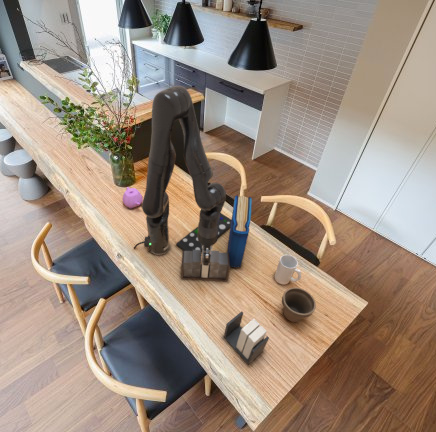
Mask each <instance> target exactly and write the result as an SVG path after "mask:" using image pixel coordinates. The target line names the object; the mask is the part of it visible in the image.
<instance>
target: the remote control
mask: <svg viewBox="0 0 436 432" xmlns="http://www.w3.org/2000/svg"><path fill="white" fill-rule="evenodd" d="M231 219H232V218H229V217H228V216H226V215H224V214H223V213H221V212H220V215H219V230H218V238H217V240H218V239H219V238H220V237H221V236H222V235H225V233H226V232H228V230H230V226H231ZM175 245H176V247H177V248H179V249H180V250H181V251H193V250H201V253H202V244H201V243H200V242H199V241H198V226H197V227H195V228H194V229H193V230H192V231H190V232H189V233H188V234H186V235H185V236H183V238H181V239H180V240H179V241H177V242H176V243H175Z"/></svg>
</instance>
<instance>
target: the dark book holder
mask: <svg viewBox="0 0 436 432" xmlns="http://www.w3.org/2000/svg"><path fill="white" fill-rule="evenodd" d="M243 315H244V312H243V311H242V310H241V311H240V312H239V313H237V315H235V316H234V317H233V318H231V320H229V321H228V322H227V323H226V325H225V328H224V334H223V339H224V340H225V341H226V342H227V343H228V345H230V347H232V348H233V350H234V351H235V352H236V353H237V354H238V355H239V356H240V357H241V358H242V360H243V361H244V362H245V363H246V364H247V365H248V366H249V365H250V364H252V362H253V361H254V360H255V359H256V358H257V357H259V355H261V354H262V353H263V352H264V350H265V347H266V346H267V343H268V342H269V340H270V337H269V336H266V334H267V332H268V330H267V329H265V328H264V326H263V325H261V324H260V323H259V322H258V321H257V320H256V319H255V318H252V319H250V321H249V322H248V323H247V324H246V325H244V326H243V327H242V326H241V323H242V319H243Z"/></svg>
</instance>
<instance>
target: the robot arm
mask: <svg viewBox="0 0 436 432" xmlns="http://www.w3.org/2000/svg"><path fill="white" fill-rule="evenodd" d="M176 121H178V122H179V125H180V127H181V130H182V136H183V158H184V163H185V166H186V168H187V171H188V173H189V175H190V177H191V181H192V186H193V187H192V188H193V196H194V200H195V204H196V205H197V206H198V208H199V209H200V211H199V216H198V217H199V218H198V225H197V227H198V241H199V242H200V243H201V244H202V252H201V256H202V255H203V265H204V266H208V265H209V263H210V256H211V251H212V250H213V245H215V244H216V243H217V242H218V239H219V238H218V230H219V215H220V213H221V212H222V210H223V208H224V206H225V203H226V199H227V191H226V189H225V187H224V186H223V185H222V184H221V183H219V182H213V183H210V184H209V181H210V180H211V178H212V177H213V176H214V173H213V169H212V166H211V163H210V162H209V159H208V155H207V154H206V151H205V148H204V145H203V141H202V138H201V132H200V129H199V124H198V120H197V116H196V111H195V107H194V102H193V100H192V96H191V94H190V92H189V91H188V89H187V88H186V87H184V86H183V85H173V86H171V87H169V88H166V89H163V90H161V91H158V92H157V93H156V94H155V95H154V98H153V99H152V105H151V136H150V146H149V153H148V161H147V171H146V172H147V173H146V185H145V186H146V187H145V192H144V196H143V201H142V203H141V209H142V212H143V213H144V214H145V216H146V218H145V221H146V229H147V236H144V239H143V241H140V242H138V243H137V244H135V245H134V246H133V249H134V250H135V249H136V248H137V247H138V246H139V245H142V244H143V246H144V248H148V252H149V253H151V254H153V255H156V256H162V255H166V254H167V253H168V252H169V251H170V247H171V245H170V233H169V232H170V231H169V230H170V229H169V215H170V198H169V194H168V193H167V192H166V191H167V188H168V186H169V184H170V182H171V178H172V176H173V172H174V170H175V169H174V168H175V164H176V159H177V154H176V149H175V146H174V145H173V142H172V139H171V138H172V133H173V127H174V124H175V122H176ZM217 238H218V239H217ZM204 251H205V252H204ZM209 251H210V252H209ZM208 252H209V253H208Z"/></svg>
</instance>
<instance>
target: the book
mask: <svg viewBox="0 0 436 432" xmlns="http://www.w3.org/2000/svg"><path fill="white" fill-rule="evenodd" d="M252 203H253V199H252V197H251V196H249V197H248V196H245V195H241V196H239V195H235V196H234V201H233V207H232V215H231V218H230V219H231V226H230V229H229V233H228V240H227V249H226V253H229V262H230V268H241V267H242V263H243V259H244V255H245V250H246V246H247V242H248V239H249V233H250V225H251V219H252Z"/></svg>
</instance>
